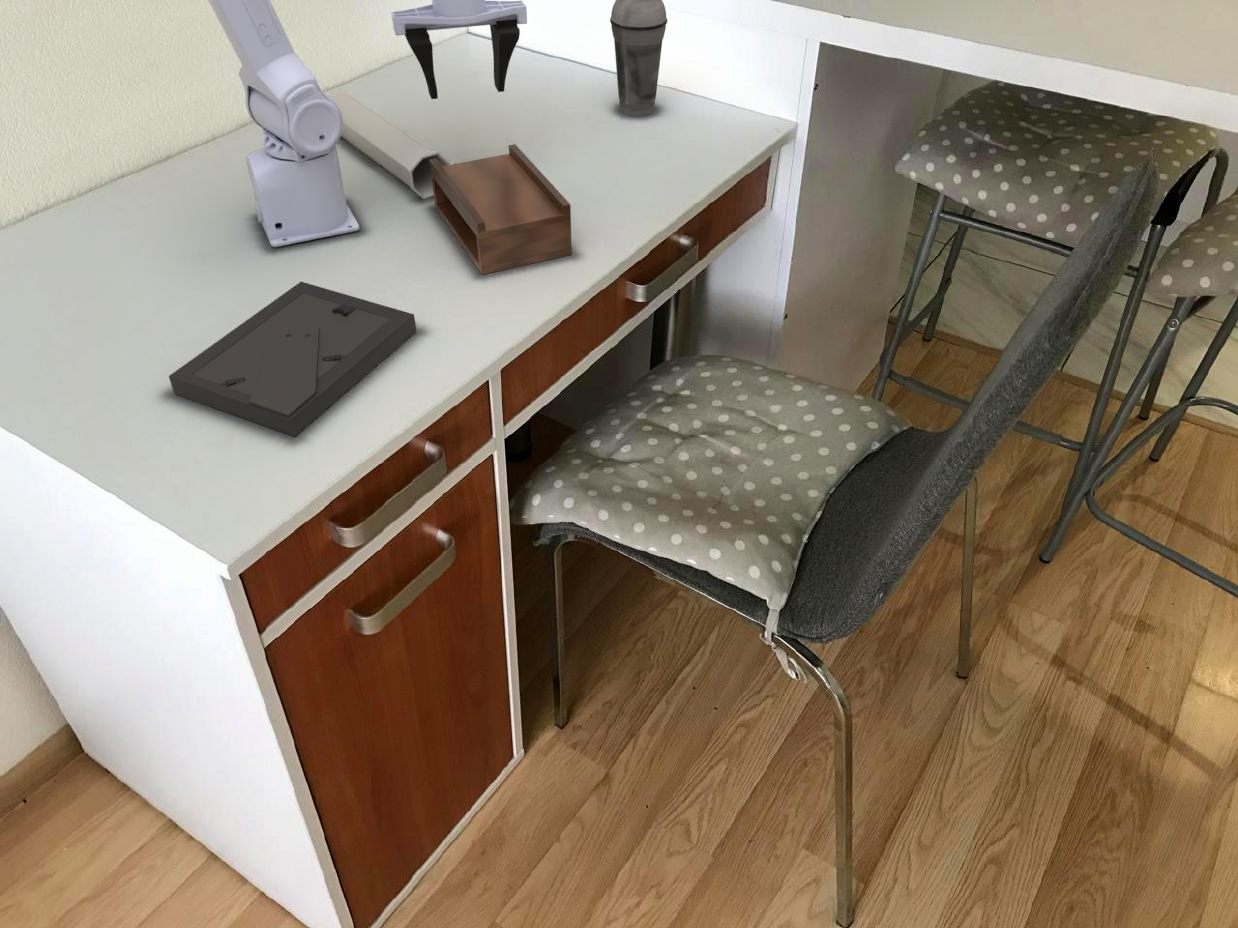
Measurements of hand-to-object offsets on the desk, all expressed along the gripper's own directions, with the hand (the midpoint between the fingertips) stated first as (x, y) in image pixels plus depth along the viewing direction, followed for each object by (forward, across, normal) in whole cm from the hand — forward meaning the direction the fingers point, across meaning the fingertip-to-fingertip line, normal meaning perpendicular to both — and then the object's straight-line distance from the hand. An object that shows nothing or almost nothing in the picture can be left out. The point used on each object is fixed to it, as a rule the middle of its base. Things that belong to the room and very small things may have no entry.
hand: (466, 92), depth 121 cm
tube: (+10, +10, -6) cm, 15 cm away
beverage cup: (+10, -24, -12) cm, 29 cm away
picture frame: (+10, +23, +35) cm, 43 cm away
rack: (+9, 0, +16) cm, 19 cm away
